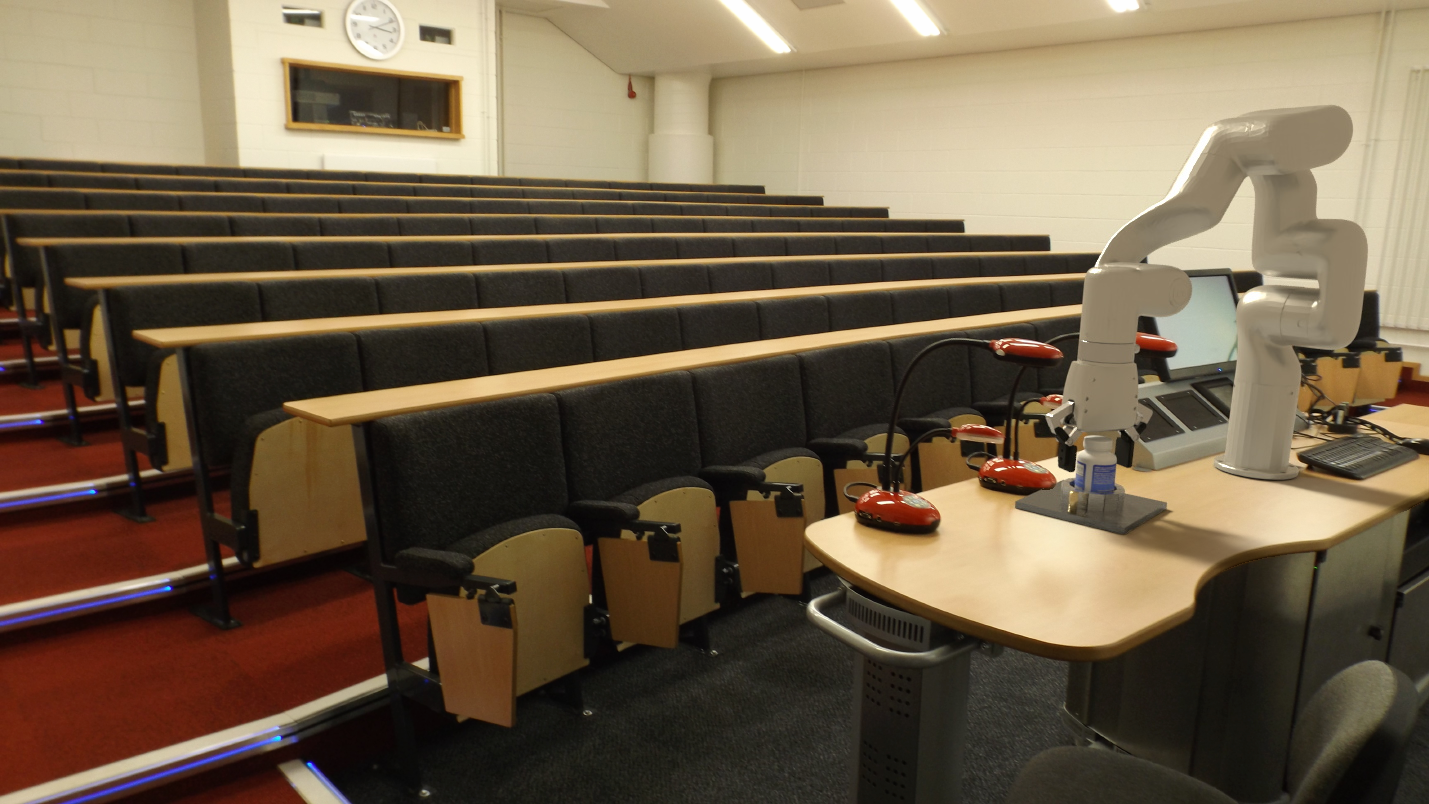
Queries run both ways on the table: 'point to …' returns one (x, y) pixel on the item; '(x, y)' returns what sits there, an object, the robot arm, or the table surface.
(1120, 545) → the table surface
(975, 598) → the table surface
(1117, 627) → the table surface
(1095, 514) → the flange base
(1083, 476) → the pill bottle
